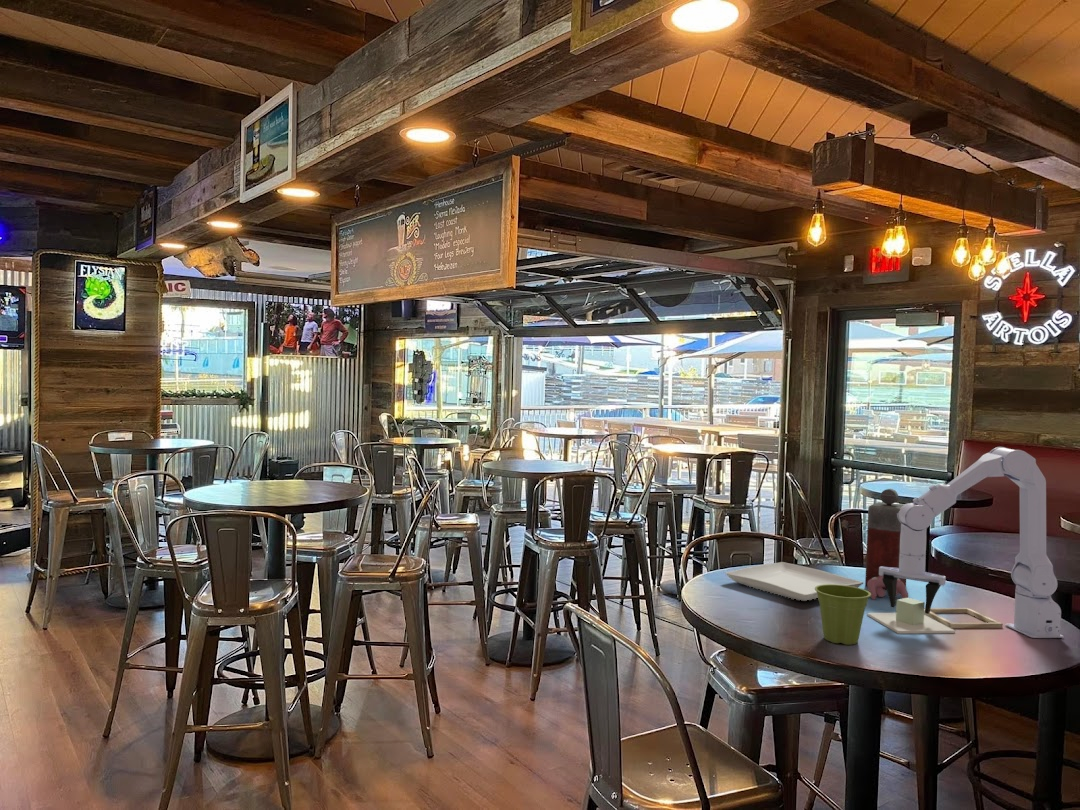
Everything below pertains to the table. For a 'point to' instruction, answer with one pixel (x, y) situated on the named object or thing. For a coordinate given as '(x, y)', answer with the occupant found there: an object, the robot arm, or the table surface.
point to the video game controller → (877, 584)
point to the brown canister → (883, 535)
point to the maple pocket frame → (950, 624)
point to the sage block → (910, 611)
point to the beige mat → (902, 628)
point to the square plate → (789, 579)
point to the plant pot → (842, 612)
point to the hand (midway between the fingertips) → (910, 609)
